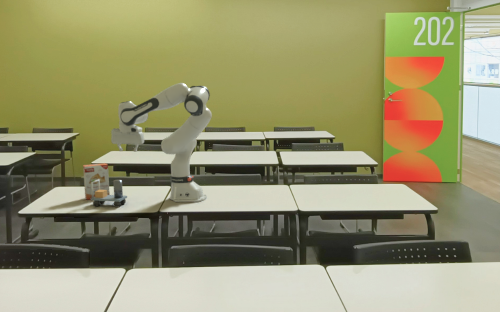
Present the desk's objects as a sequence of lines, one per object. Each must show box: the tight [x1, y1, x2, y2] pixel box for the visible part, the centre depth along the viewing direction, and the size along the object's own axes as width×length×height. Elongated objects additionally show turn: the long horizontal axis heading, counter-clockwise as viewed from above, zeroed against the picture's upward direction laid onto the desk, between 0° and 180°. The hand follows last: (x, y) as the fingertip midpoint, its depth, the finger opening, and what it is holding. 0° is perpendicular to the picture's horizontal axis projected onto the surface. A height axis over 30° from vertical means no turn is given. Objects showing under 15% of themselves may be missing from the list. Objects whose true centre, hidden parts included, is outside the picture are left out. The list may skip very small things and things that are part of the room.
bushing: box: [112, 179, 124, 199], centre depth 274 cm, size 5×5×10 cm
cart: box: [90, 179, 128, 208], centre depth 276 cm, size 18×9×14 cm, turn 77°
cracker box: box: [82, 162, 111, 201], centre depth 292 cm, size 14×6×21 cm, turn 117°
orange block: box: [95, 190, 107, 198], centre depth 277 cm, size 5×5×4 cm
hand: (128, 151), depth 287 cm, fingers open, 8 cm apart
